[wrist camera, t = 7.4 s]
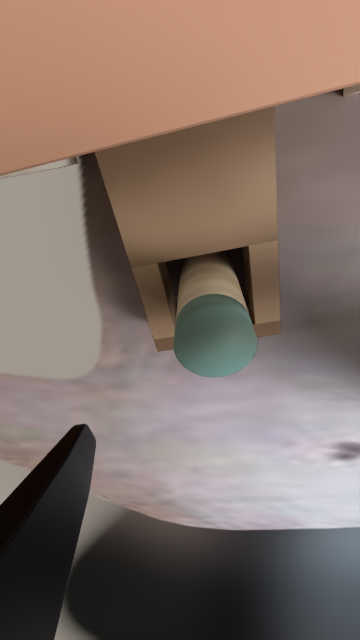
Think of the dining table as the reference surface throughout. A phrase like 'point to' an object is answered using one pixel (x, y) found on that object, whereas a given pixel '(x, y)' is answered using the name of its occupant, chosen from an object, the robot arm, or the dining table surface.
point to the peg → (212, 318)
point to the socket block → (199, 210)
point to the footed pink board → (158, 68)
